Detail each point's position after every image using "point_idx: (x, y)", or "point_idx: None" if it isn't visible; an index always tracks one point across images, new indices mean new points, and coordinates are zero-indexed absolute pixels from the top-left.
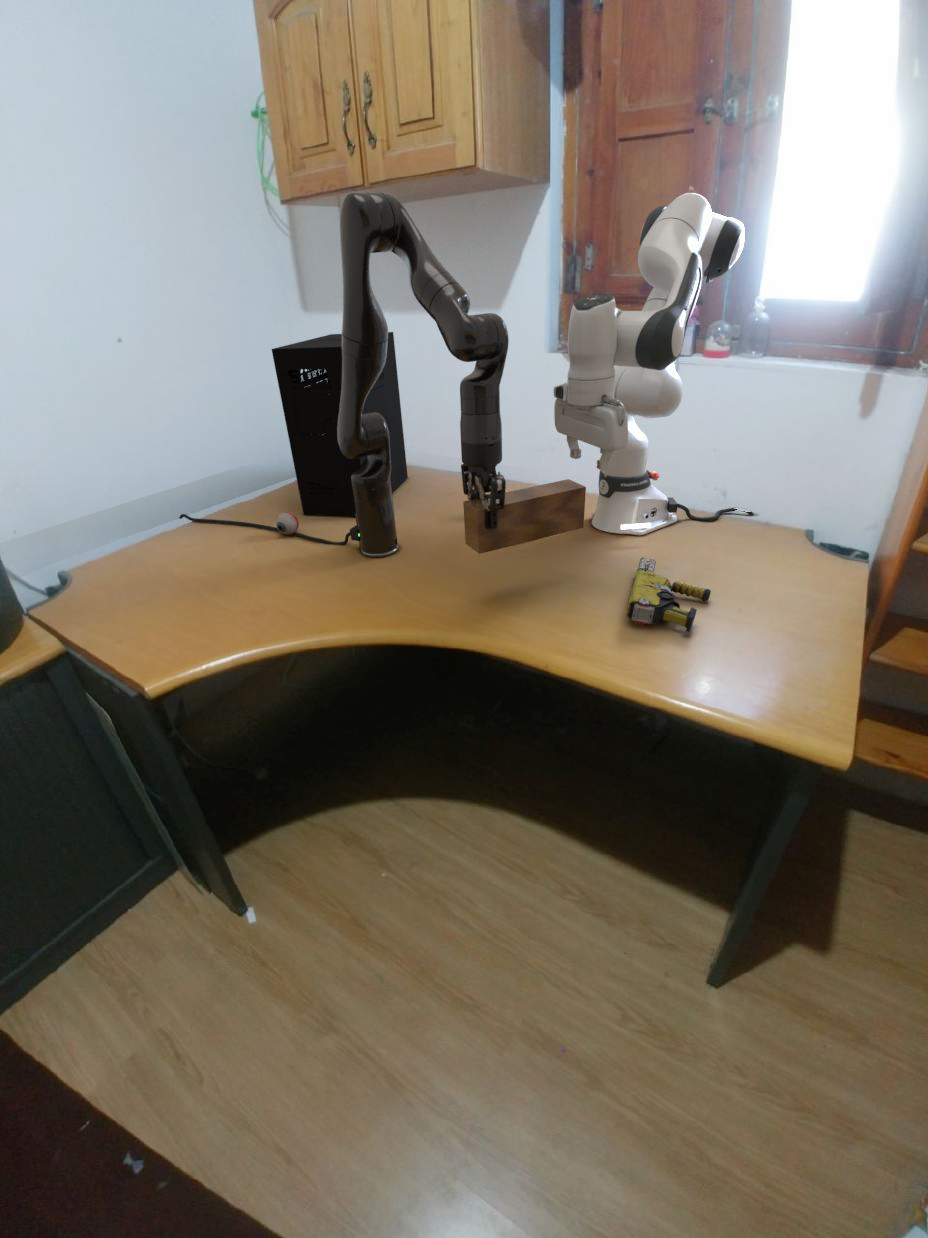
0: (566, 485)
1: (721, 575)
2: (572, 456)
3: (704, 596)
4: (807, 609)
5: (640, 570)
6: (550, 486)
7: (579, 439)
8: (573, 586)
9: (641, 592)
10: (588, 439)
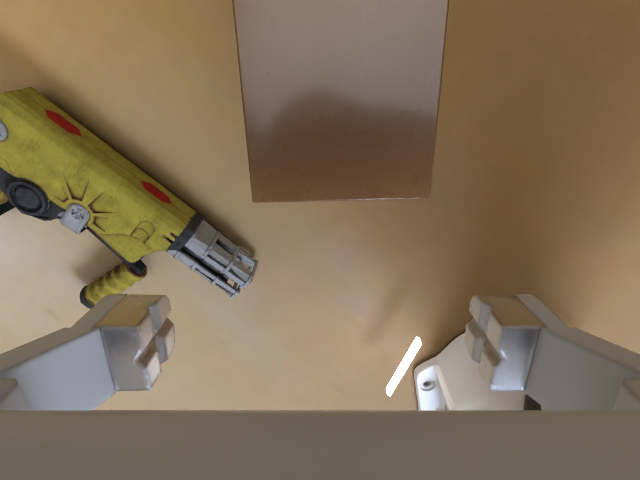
0: (335, 118)
1: (187, 373)
2: (502, 297)
3: (83, 288)
4: None
5: (173, 230)
6: (378, 4)
7: (386, 414)
8: None
9: (42, 151)
10: (116, 457)
